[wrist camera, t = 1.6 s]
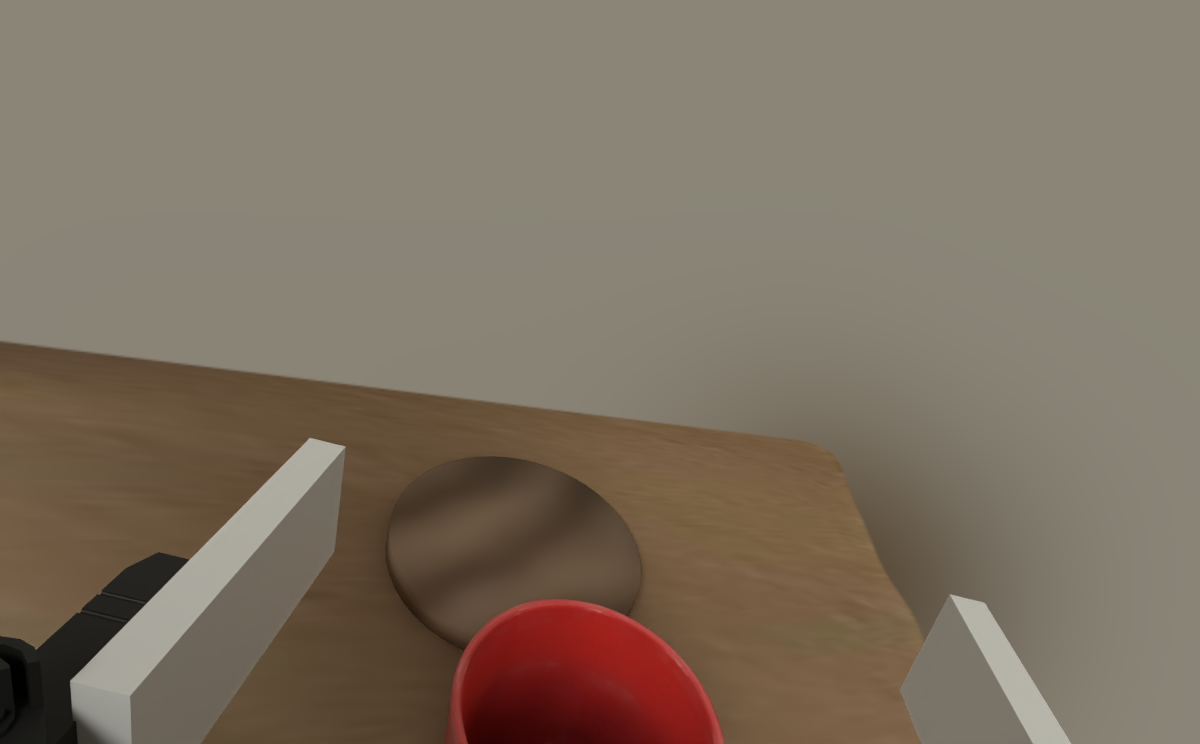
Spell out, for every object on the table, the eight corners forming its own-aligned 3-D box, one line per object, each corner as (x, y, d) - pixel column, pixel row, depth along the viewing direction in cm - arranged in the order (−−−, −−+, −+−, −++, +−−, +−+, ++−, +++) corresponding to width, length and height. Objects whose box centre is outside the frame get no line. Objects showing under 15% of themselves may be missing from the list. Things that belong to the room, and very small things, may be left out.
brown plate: (327, 544, 42) (330, 525, 42) (498, 445, 55) (502, 429, 55) (540, 721, 37) (548, 703, 36) (674, 565, 50) (681, 549, 49)
